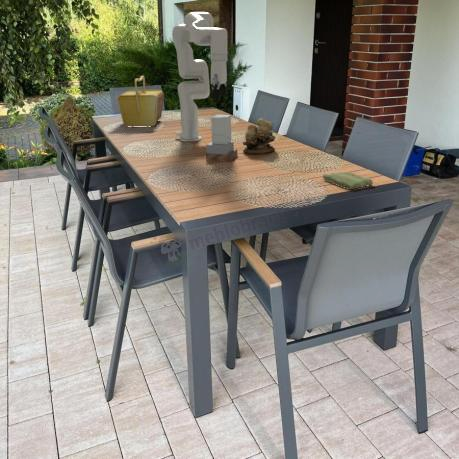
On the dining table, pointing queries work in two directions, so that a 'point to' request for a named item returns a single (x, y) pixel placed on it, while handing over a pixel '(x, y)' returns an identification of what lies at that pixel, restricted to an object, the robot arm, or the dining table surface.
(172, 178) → the dining table surface
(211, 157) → the walnut base block
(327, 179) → the washcloth
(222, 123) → the supplement box
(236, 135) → the dining table surface
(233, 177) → the dining table surface
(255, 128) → the carved figurine
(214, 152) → the grey top block
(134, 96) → the picnic basket
